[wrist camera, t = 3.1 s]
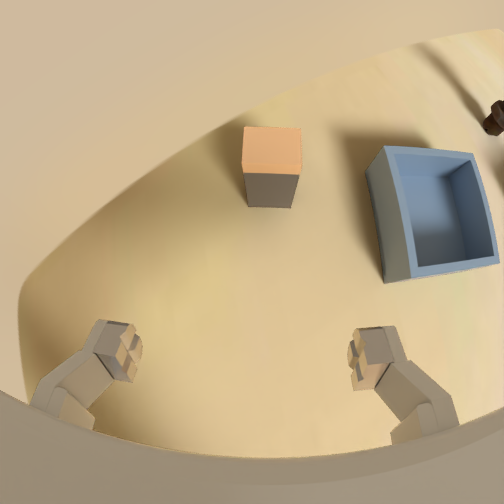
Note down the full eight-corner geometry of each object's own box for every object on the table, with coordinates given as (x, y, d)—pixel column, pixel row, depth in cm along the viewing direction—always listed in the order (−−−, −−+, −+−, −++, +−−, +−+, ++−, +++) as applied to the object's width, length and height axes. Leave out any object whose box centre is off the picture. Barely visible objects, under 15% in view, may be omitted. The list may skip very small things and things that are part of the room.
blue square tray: (468, 270, 25) (499, 263, 20) (384, 283, 25) (411, 278, 20) (447, 173, 27) (472, 153, 22) (364, 171, 27) (383, 145, 22)
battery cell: (290, 208, 27) (302, 165, 18) (248, 206, 27) (241, 163, 18) (290, 179, 28) (301, 128, 19) (249, 178, 28) (244, 126, 19)
